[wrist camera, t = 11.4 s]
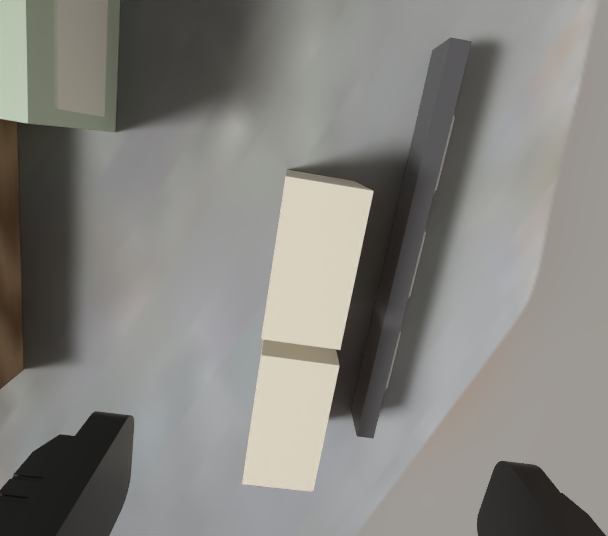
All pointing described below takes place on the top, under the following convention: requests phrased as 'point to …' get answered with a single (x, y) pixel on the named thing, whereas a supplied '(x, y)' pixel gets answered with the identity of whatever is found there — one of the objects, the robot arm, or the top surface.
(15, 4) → the sage tea tin
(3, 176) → the shelf back lip
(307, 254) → the box
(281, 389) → the faced twin box
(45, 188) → the top surface
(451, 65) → the rail
